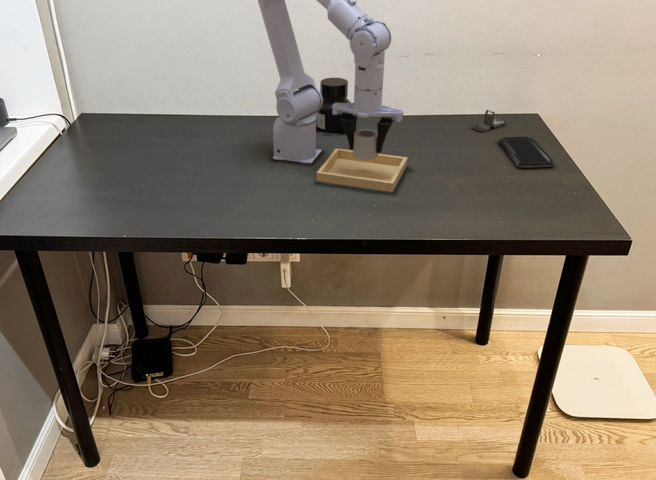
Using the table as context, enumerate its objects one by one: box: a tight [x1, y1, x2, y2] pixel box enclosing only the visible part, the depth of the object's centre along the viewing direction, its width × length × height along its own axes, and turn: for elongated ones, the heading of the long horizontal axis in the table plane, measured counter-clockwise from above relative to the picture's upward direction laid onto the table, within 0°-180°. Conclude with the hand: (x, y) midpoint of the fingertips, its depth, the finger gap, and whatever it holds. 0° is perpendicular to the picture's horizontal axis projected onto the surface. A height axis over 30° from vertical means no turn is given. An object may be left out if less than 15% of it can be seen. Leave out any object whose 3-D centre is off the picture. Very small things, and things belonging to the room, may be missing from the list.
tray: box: [316, 147, 408, 193], centre depth 141 cm, size 17×14×3 cm
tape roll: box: [353, 128, 379, 160], centre depth 138 cm, size 5×5×5 cm
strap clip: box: [472, 109, 505, 132], centre depth 163 cm, size 8×3×4 cm, turn 122°
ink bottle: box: [316, 77, 352, 135], centre depth 162 cm, size 10×9×12 cm
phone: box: [499, 136, 554, 169], centre depth 149 cm, size 8×1×15 cm
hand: (365, 149), depth 138 cm, fingers closed on tape roll, 5 cm apart
